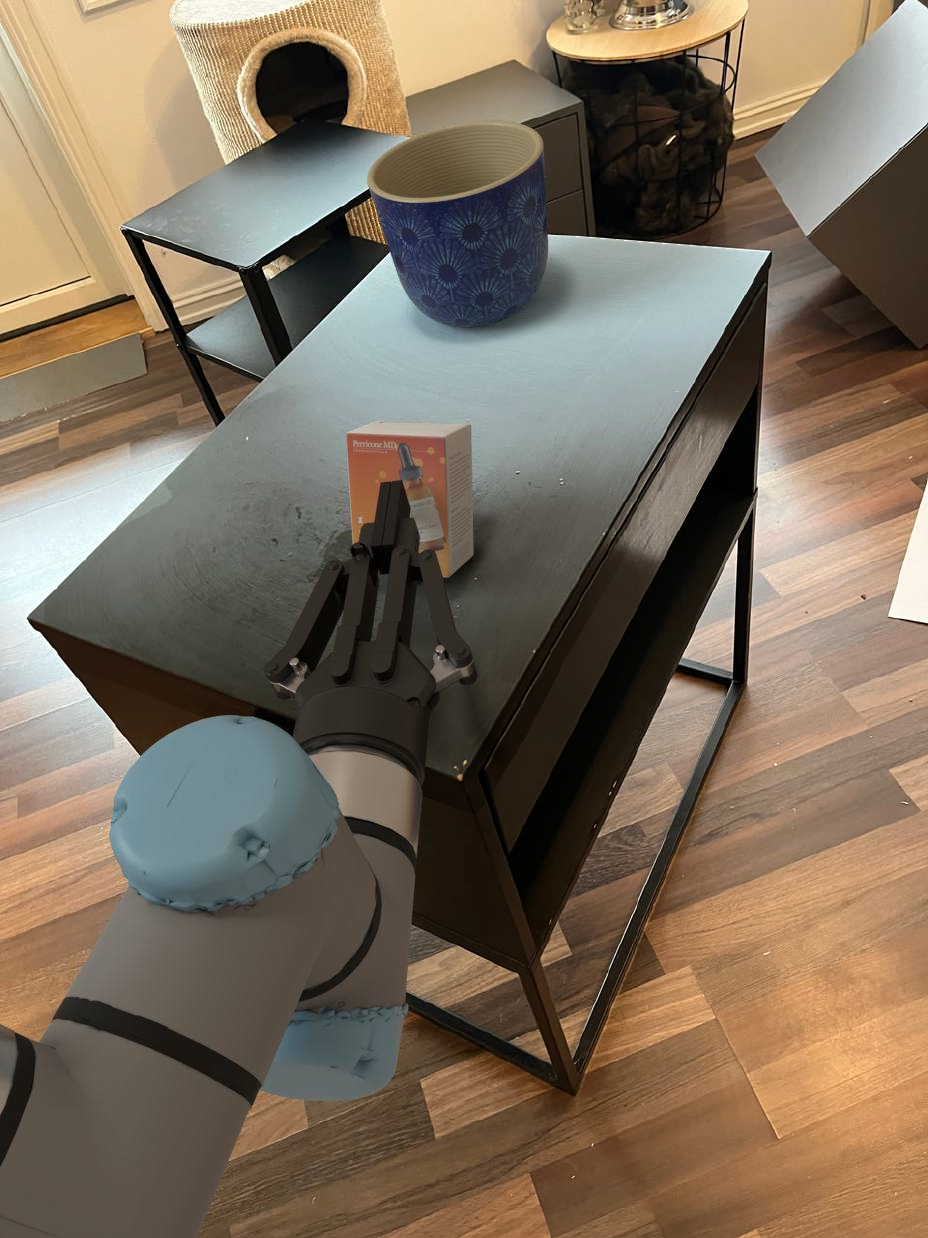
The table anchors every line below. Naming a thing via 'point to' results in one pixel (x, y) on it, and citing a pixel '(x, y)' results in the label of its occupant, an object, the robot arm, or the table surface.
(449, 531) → the small box
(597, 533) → the table surface
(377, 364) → the table surface
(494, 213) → the planter
